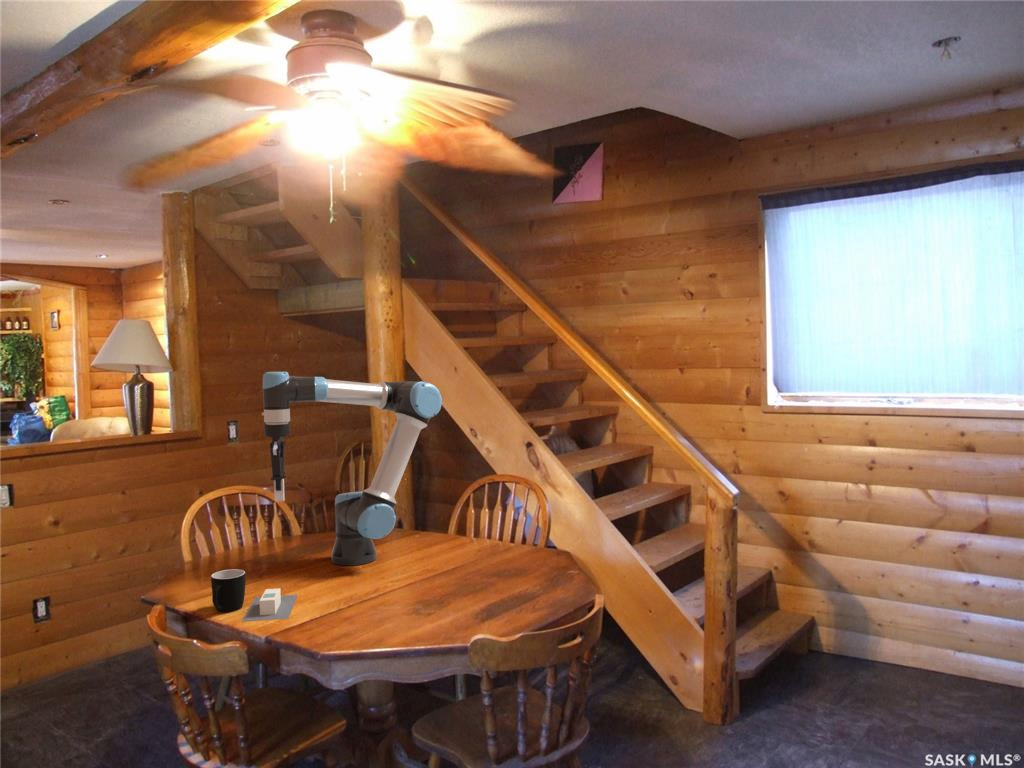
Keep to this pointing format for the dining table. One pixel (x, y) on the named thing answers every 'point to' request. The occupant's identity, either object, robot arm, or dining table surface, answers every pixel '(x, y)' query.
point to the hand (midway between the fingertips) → (279, 500)
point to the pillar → (270, 601)
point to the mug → (228, 590)
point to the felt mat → (281, 613)
